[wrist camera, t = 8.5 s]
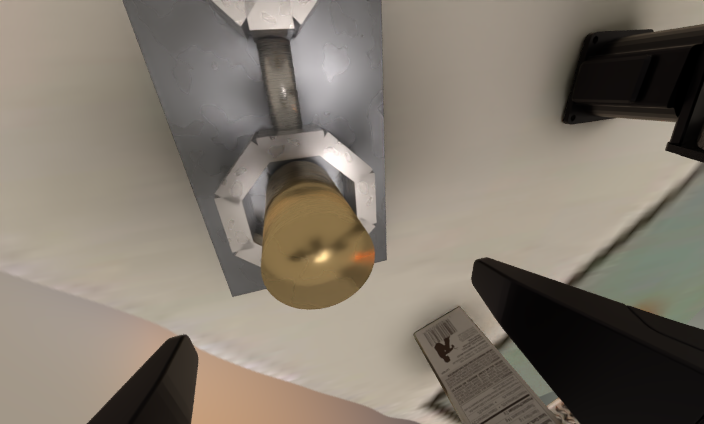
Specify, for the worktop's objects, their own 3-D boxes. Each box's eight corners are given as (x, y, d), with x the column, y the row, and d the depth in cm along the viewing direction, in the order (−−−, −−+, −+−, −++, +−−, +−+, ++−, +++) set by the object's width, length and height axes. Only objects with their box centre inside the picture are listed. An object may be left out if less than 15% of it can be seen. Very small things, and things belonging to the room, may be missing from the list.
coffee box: (476, 345, 33) (627, 533, 19) (433, 371, 33) (553, 581, 19) (460, 303, 29) (641, 508, 15) (410, 333, 28) (546, 570, 14)
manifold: (365, -178, 12) (410, -309, 8) (380, 250, 23) (402, 283, 19) (56, -221, 10) (-97, -441, 6) (235, 283, 20) (225, 330, 16)
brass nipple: (330, 156, 16) (372, 203, 9) (337, 217, 18) (376, 294, 11) (258, 166, 16) (246, 226, 9) (274, 229, 17) (274, 321, 10)
